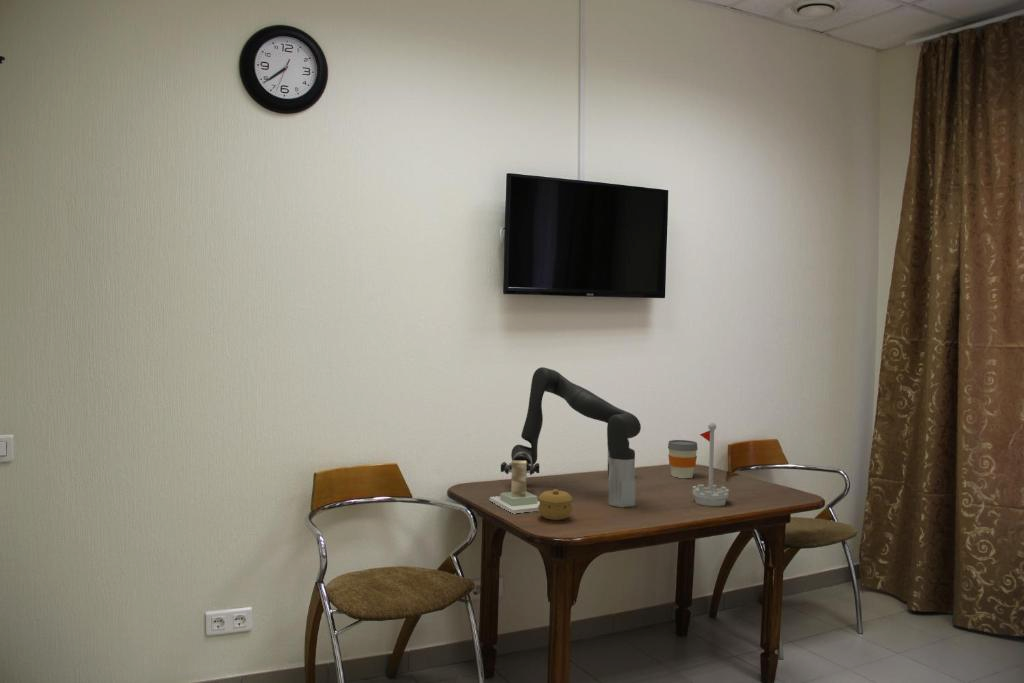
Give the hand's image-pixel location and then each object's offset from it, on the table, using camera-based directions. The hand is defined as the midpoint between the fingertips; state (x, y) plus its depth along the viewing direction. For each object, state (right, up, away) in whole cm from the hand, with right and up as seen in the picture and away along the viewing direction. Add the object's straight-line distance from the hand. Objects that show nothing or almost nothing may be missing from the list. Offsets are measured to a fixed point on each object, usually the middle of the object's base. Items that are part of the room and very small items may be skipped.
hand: (519, 471), depth 276 cm
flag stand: (+72, -14, +11) cm, 74 cm away
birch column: (0, -8, 0) cm, 9 cm away
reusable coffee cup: (+71, -12, +56) cm, 91 cm away
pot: (+12, -14, -15) cm, 24 cm away
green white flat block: (0, -12, +1) cm, 13 cm away
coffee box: (+43, -12, +53) cm, 69 cm away
